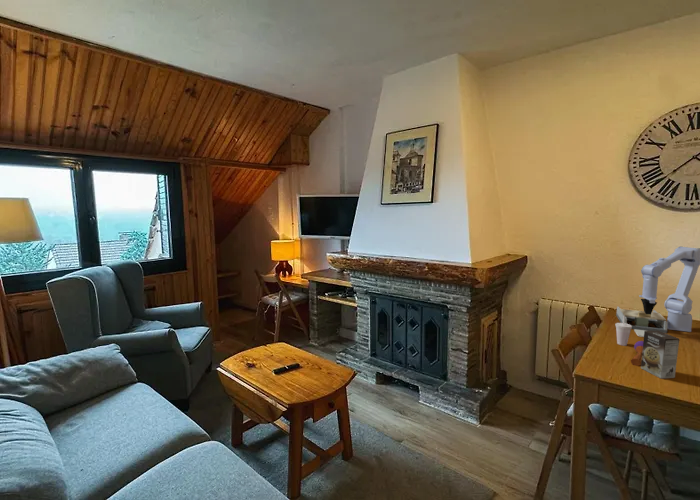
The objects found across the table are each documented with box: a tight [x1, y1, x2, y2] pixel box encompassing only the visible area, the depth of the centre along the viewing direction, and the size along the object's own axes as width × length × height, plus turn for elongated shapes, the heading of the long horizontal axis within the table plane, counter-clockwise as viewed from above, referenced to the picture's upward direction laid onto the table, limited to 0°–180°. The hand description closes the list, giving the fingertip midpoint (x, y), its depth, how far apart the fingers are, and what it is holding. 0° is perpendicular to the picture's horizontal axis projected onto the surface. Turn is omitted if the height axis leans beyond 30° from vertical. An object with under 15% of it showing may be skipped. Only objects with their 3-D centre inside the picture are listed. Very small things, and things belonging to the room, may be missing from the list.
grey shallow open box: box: [615, 306, 668, 334], centre depth 201 cm, size 18×25×6 cm
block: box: [634, 317, 649, 327], centre depth 198 cm, size 5×5×5 cm
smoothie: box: [614, 316, 633, 347], centre depth 172 cm, size 6×6×14 cm
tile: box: [633, 329, 645, 338], centre depth 184 cm, size 10×10×1 cm
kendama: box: [630, 340, 644, 367], centre depth 157 cm, size 6×6×20 cm
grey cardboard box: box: [640, 331, 680, 379], centre depth 142 cm, size 9×6×16 cm
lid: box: [620, 308, 667, 322], centre depth 197 cm, size 18×13×3 cm
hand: (647, 313), depth 188 cm, fingers closed
